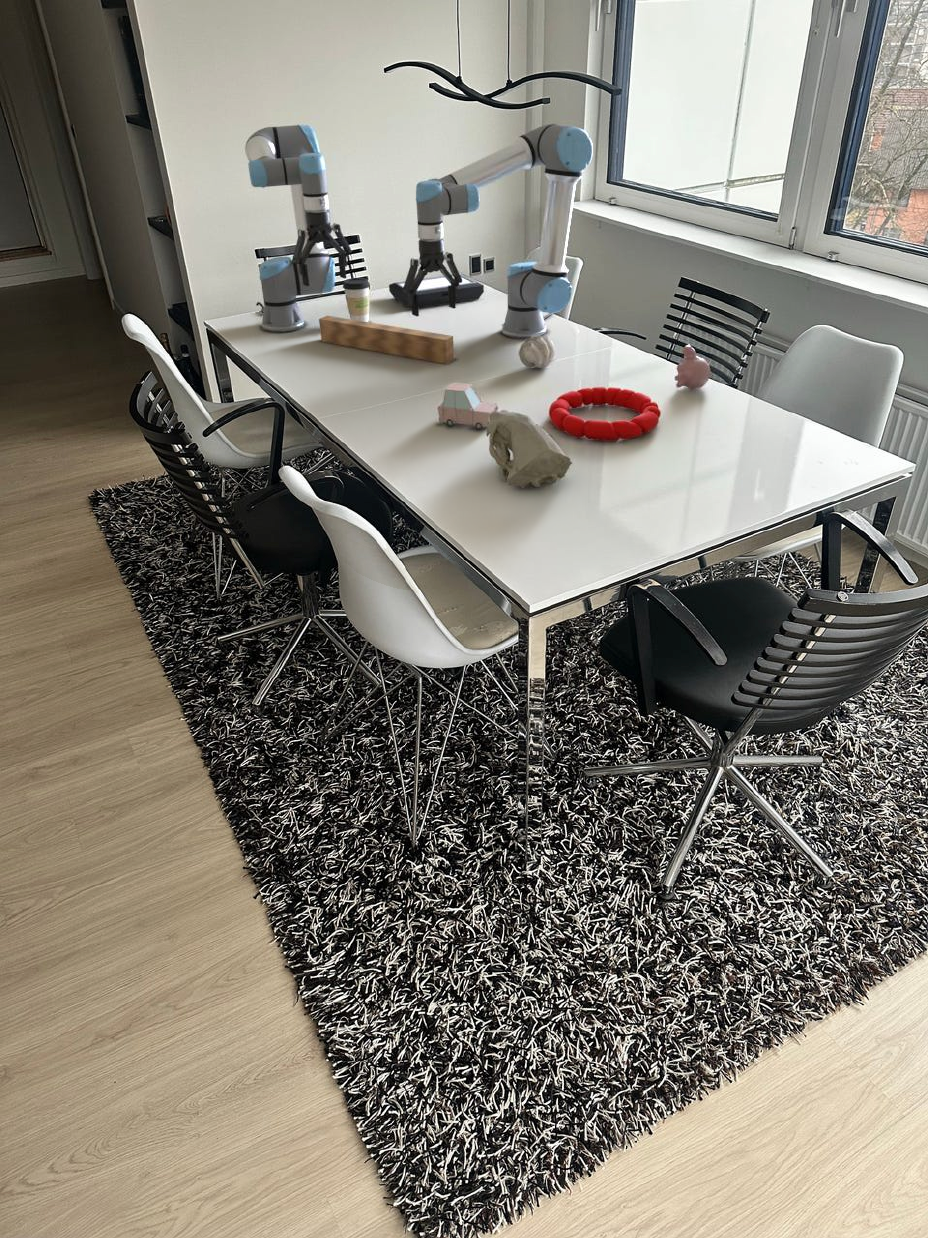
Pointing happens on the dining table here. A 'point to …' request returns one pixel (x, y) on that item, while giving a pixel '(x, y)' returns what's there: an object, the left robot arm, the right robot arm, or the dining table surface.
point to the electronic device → (438, 291)
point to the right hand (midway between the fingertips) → (434, 311)
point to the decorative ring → (604, 428)
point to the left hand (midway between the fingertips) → (325, 281)
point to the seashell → (536, 351)
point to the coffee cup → (357, 298)
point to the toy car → (465, 406)
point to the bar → (387, 339)
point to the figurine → (692, 370)
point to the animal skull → (525, 450)
